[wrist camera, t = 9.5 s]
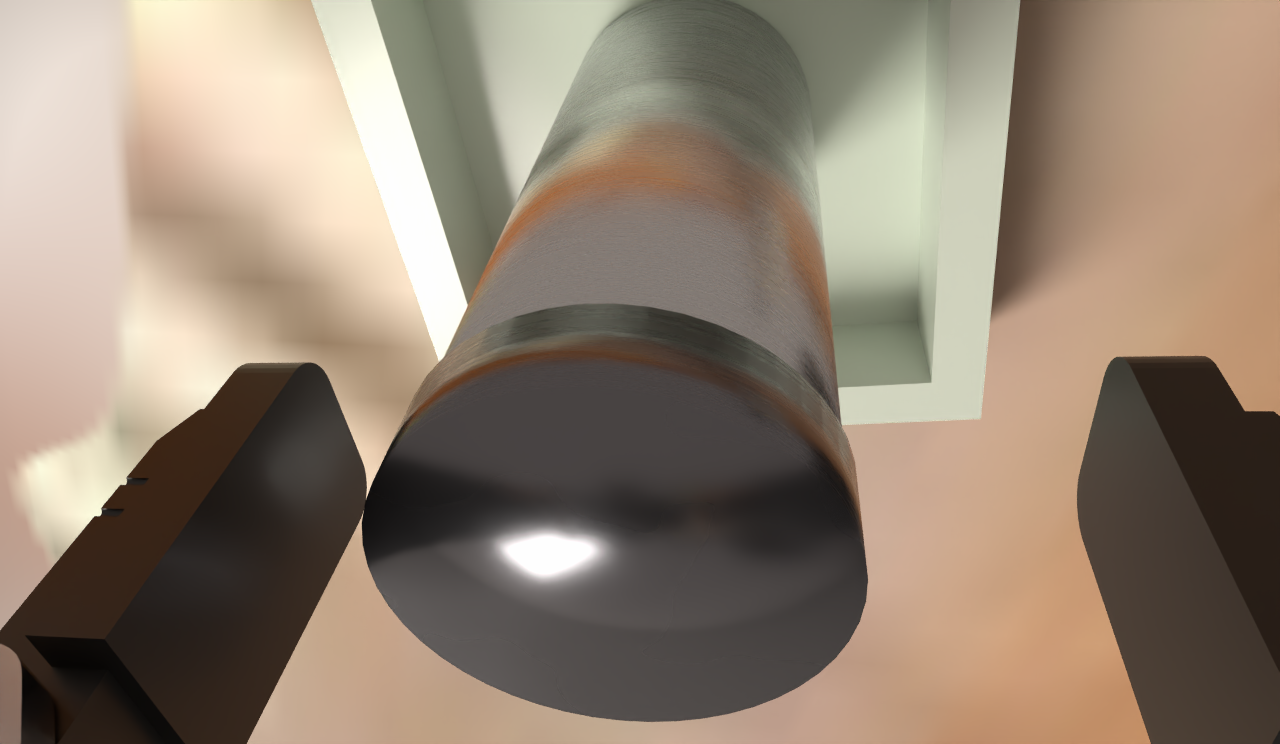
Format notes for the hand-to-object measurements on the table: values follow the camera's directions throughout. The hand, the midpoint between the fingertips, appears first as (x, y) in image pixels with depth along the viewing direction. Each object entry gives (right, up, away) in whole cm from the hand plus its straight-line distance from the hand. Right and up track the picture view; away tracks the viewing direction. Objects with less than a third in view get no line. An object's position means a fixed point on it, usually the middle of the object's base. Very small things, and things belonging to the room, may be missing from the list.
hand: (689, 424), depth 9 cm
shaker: (0, +5, +8) cm, 10 cm away
